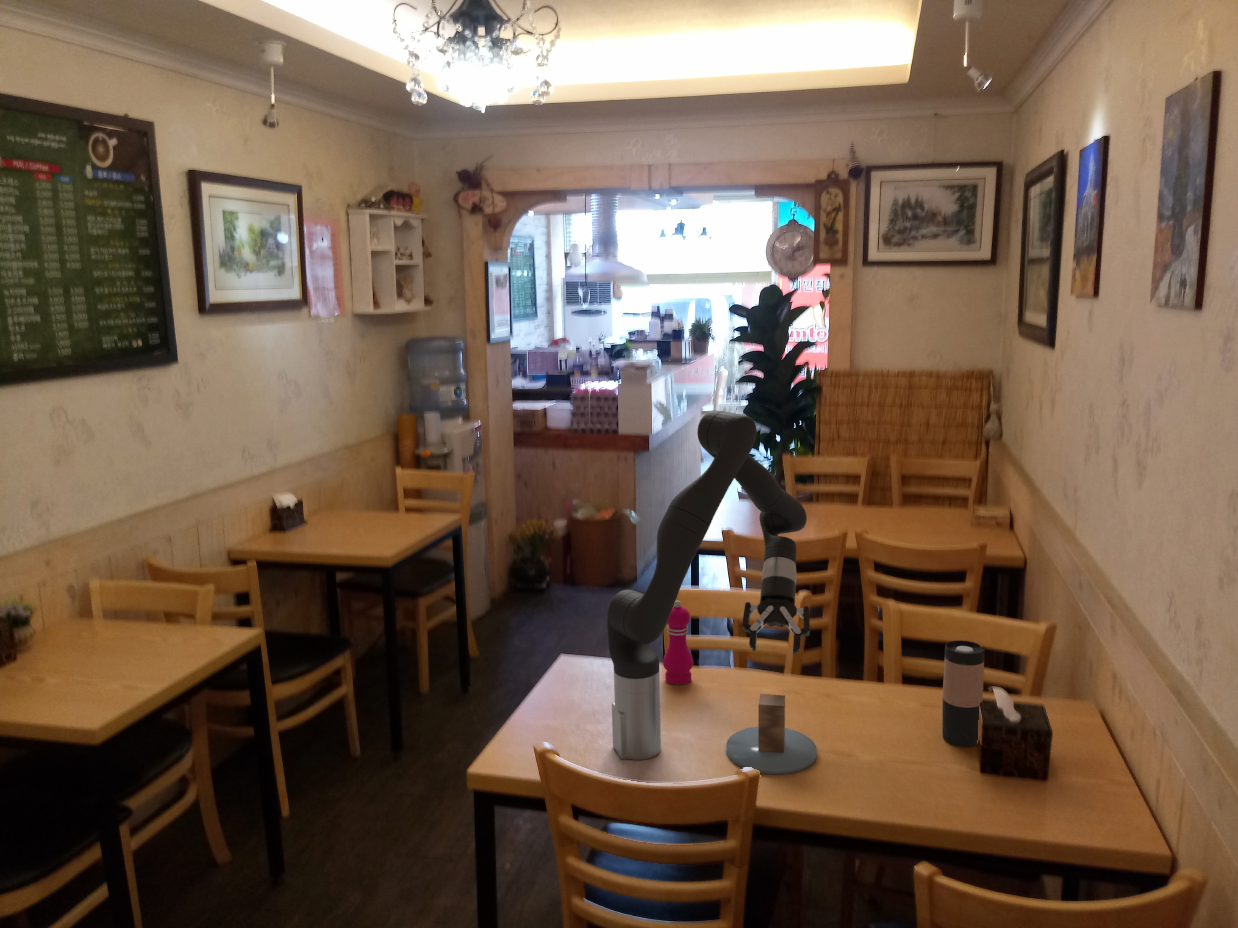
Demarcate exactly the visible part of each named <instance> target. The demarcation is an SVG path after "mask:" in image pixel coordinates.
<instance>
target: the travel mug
mask: <svg viewBox="0 0 1238 928" xmlns="http://www.w3.org/2000/svg"><path fill="white" fill-rule="evenodd" d="M985 652H986V651H985V649H983V648H982V647H981V645H980V644H979V643H977V642H975V641H970V640H959V639H958V640H957V639H956V640H952V641H948V642H947V643H945V646H944V665H943V683H942V721H941V722H942V731H941V732H942V739H943V740H944V742H946V743H948V744H950V745H952V746H954V747H955V746H956V747H961V748H971V747H975V746H977V745H978V744H977V740H978V720H979V706H980V703H981V702H982V701H983V699H984V673H985ZM982 703H983V702H982Z"/></svg>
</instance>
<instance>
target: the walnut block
mask: <svg viewBox="0 0 1238 928" xmlns="http://www.w3.org/2000/svg"><path fill="white" fill-rule="evenodd" d="M757 727H758V751H762V752H775V753H784V744H785V728H786V695H784V694H771V693H770V694H769V693H768V694H767V693H759V699H758V726H757Z"/></svg>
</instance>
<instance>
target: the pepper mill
mask: <svg viewBox="0 0 1238 928" xmlns="http://www.w3.org/2000/svg"><path fill="white" fill-rule="evenodd" d="M690 621H691V614H690V611H689V610H688V608H686V607H684V606H682V602H681V601H680V600H677V599H676V601H675V603H674V606H673V609H672V612H671V614H670V617H669V619H668V622H667V624H666V626H667V627H666V628H667V630H666V631H667V633H668V637H669V642H668V647H667V649H666V651H665V653H664V656H663V662H662V664H663V668H664V669H665V674H664V677H665V679H666V680H665V682H666V683H668V682H669V683H668V684H670V683H672V684H671V685H674V684H683V685H686V683H687V684H689V683H691V681H692V672H691V669H692V668H693V666H694V659H693V658H694V657H693V656H692V653H691V650H690V649H689V645H688V643H687V634H689V626H688V624H689V623H690Z"/></svg>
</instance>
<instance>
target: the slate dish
mask: <svg viewBox="0 0 1238 928" xmlns="http://www.w3.org/2000/svg"><path fill="white" fill-rule="evenodd" d="M725 744H726V749H725V750H726V754H727V757H728V758H729V760H730V761H731V762H732V763H734V764H735V765H737V766H738V767H740V768H742V769H744V768H743V767H752V768H754V769H757V770H759V771H760V772H761V773H760V774H762V775H763V774H764V775H789V773H790V774H793V773H798V772H801V771H802V772H803V771H804V770H806V769H808V768H810V767H811V766H812V765H813V764H814V763H815V761H816V760H817V754H818V752H817V750H818V749H817V745H816V743H815V741H813V740H812V739H811V737H809V736H807V735H806V734H804V733H802V732H799V731H797V730H795V729H791V728H787V727H785V744H784V753H775V752H762V751H758V726H752V727H746V728H744V729H741V730H738V731H736V732H735V733H733V734H731V735H730V736H729V737H728V739H727V740H726V743H725Z"/></svg>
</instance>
